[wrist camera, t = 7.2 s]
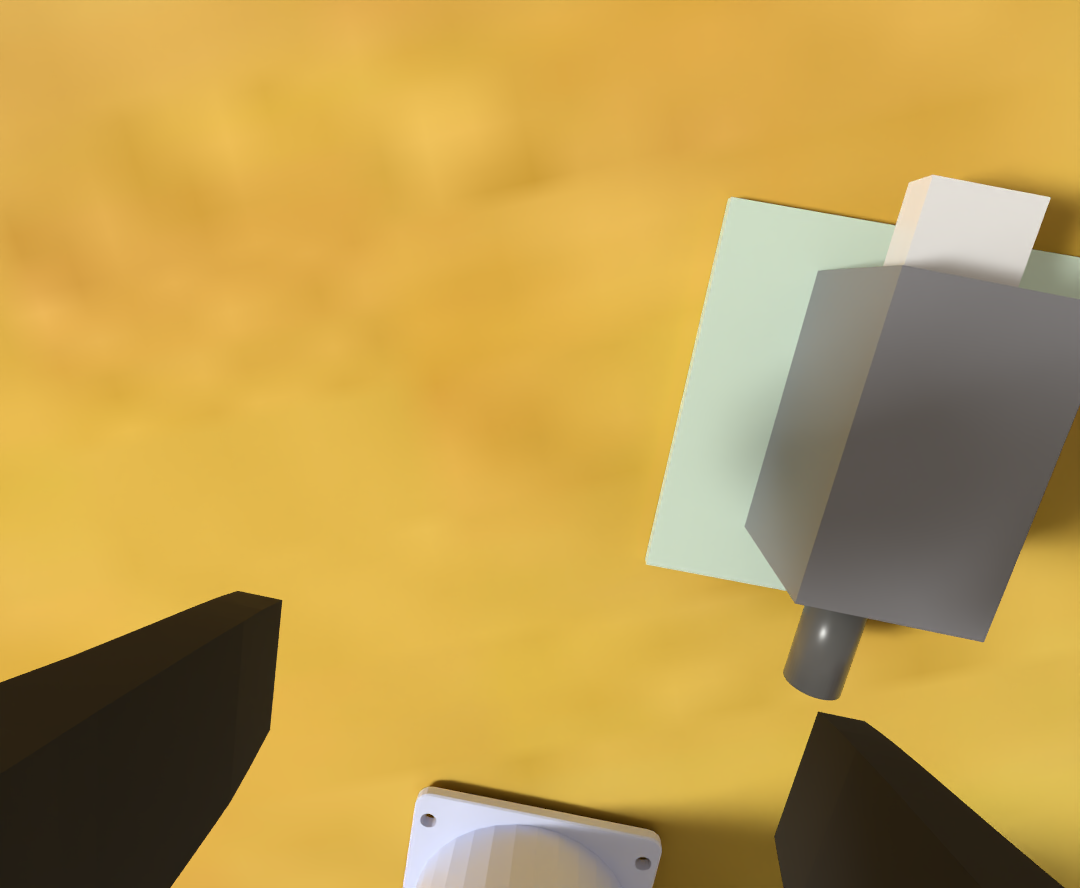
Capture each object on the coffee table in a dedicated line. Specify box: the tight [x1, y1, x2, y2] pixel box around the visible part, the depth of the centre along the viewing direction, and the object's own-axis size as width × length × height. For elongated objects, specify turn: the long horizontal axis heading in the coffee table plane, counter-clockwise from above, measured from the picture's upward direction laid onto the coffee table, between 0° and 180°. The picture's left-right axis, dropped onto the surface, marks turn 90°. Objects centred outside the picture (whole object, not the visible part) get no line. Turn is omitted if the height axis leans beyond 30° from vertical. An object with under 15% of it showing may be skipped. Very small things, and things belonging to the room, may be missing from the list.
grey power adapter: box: [744, 175, 1080, 700], centre depth 15 cm, size 12×4×4 cm, turn 169°
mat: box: [645, 197, 1080, 591], centre depth 17 cm, size 10×9×1 cm
